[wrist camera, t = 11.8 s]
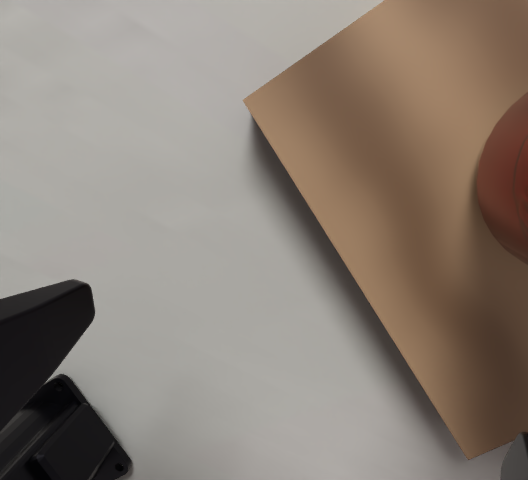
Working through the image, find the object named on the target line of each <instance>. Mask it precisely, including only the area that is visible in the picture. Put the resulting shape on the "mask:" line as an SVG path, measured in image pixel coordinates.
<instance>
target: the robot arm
mask: <svg viewBox="0 0 528 480" xmlns="http://www.w3.org/2000/svg"><path fill="white" fill-rule="evenodd" d="M94 316H95V307H94V301H93V295H92V290H91V287H90V285H89V284H87V283H84V282H81V281H78V280H74V279H72V280H68V281H64V282H60V283H57V284H53V285H50V286H46V287H42V288H39V289H35V290H32V291H28V292H24V293H21V294H17V295H14V296H10V297H6V298H3V299H0V480H115V479H117V478H119V477H121V476H123V475H125V474H126V473H127V472H128V470H129V468H130V466H131V460H130V458H129V457H128V456H127V454H126V453H125V452H124V450H123V449H122V448H121V446H120V445H119V444H118V442H117V441H116V440H115V438H114V437H113V436H112V434H111V433H110V432H109V430H108V429H107V428H106V426H105V425H104V424H103V422H102V421H101V420H100V418H99V417H98V416H97V414H96V413H95V411H94V410H93V409H92V407H91V406H90V405H89V403H88V402H87V401H86V399H85V398H84V397H83V395H82V394H81V393H80V391H79V390H78V389H77V387H76V386H75V385H74V383H73V382H72V381H71V379H70V378H69V377H68V376H66V375H64V374H59V375H57V376H55V377H54V378H52V379H50V380H49V381H47V380H48V379H49V378H50V376H51V375H52V374H53V373H54V371H55V370H56V369H57V368H58V366H59V365H60V364H61V362H62V361H63V360H64V359H65V357H66V356H67V355H68V353H69V352H70V351H71V349H72V348H73V347H74V345H75V344H76V343H77V341H78V340H79V339H80V337H81V336H82V335H83V333H84V332H85V331H86V329H87V328H88V327H89V325H90V324H91V323H92V321H93V319H94ZM46 381H47V382H46ZM58 382H59V383H61V384H62V385H63V387H62V386H60V385H59V383H58ZM119 463H120V464H122V465H123V466H121V465H119ZM500 480H528V432H520V433H519V434H518V435H517V437H516V439H515V440H514V442H513V444H512V446H511V448H510V450H509V451H508V453H507V455H506V457H505V459H504V461H503V464H502V468H501V479H500Z"/></svg>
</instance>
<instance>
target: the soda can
mask: <svg viewBox="0 0 528 480" xmlns="http://www.w3.org/2000/svg"><path fill="white" fill-rule="evenodd" d="M476 185H477V197H478V203H479V207H480V210H481V213H482V217H483V220H484V221H485V223H486V225H487V227H488V228H489V230H490V232H491V234H492V235H493V236H494V238H495V239H496V240H497V241H498V242H499V243H500V244H501V245H502V247H503V248H504V249H505V250H506V251H508V252H509V253H510V254H512V255H513V256H514V257H516V258H517V259H519V260H520V261H522V262H523V263H525V264H527V265H528V92H526V93H525V94H524V95H523V96H522V97H521V98H520V99H518V100H517V101H516V102H515V103H514V104H513V105H511V106H510V107H509V108H508V110H507V111H506V112H505V113H504V115H503V116H502V117H501V118H500V119H499V121H498V122H497V123H496V124H495V126H494V128H493V130H492V132H491V133H490V135H489V137H488V139H487V141H486V142H485V145H484V148H483V151H482V154H481V157H480V160H479V165H478V173H477V180H476Z"/></svg>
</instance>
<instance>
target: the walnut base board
mask: <svg viewBox="0 0 528 480" xmlns="http://www.w3.org/2000/svg"><path fill="white" fill-rule="evenodd" d="M526 92H528V0H385V1H383V2H382V3H380V4H379V5H377V6H376V7H375V8H373V9H372V10H370V11H369V12H367V13H366V14H365V15H363V16H362V17H360V18H359V19H357V20H356V21H355V22H353V23H352V24H350V25H349V26H348V27H346V28H345V29H343V30H342V31H340V32H339V33H338V34H336V35H335V36H333V37H332V38H330V39H329V40H328V41H326V42H325V43H323V44H322V45H320V46H319V47H318V48H316V49H315V50H313V51H312V52H311V53H309V54H308V55H306V56H305V57H303V58H302V59H301V60H299V61H298V62H296V63H295V64H293V65H292V66H291V67H289V68H288V69H286V70H285V71H283V72H282V73H281V74H279V75H278V76H276V77H275V78H273V79H272V80H271V81H269V82H268V83H266V84H265V85H264V86H262V87H261V88H259V89H258V90H256V91H255V92H254V93H252V94H251V95H249V96H248V97H246V98H245V99H244V100H243V102H244V103H245V105H246V106H247V108H248V110H249V111H250V113H251V114H252V116H253V117H254V119H255V121H256V122H257V124H258V125H259V127H260V129H261V130H262V132H263V133H264V135H265V137H266V138H267V140H268V141H269V143H270V145H271V146H272V148H273V149H274V151H275V153H276V154H277V156H278V157H279V159H280V161H281V162H282V164H283V165H284V167H285V169H286V170H287V172H288V173H289V175H290V177H291V178H292V180H293V181H294V183H295V185H296V186H297V188H298V189H299V191H300V193H301V194H302V196H303V197H304V199H305V201H306V202H307V204H308V205H309V207H310V209H311V210H312V212H313V213H314V215H315V216H316V218H317V220H318V221H319V223H320V224H321V226H322V228H323V229H324V231H325V232H326V234H327V236H328V237H329V239H330V240H331V242H332V244H333V245H334V247H335V248H336V250H337V252H338V253H339V255H340V256H341V258H342V260H343V261H344V263H345V264H346V266H347V268H348V269H349V271H350V272H351V274H352V276H353V277H354V279H355V280H356V282H357V284H358V285H359V287H360V288H361V290H362V292H363V293H364V295H365V296H366V298H367V300H368V301H369V303H370V304H371V306H372V308H373V309H374V311H375V312H376V314H377V315H378V317H379V319H380V320H381V322H382V323H383V325H384V327H385V328H386V330H387V331H388V333H389V335H390V336H391V338H392V339H393V341H394V343H395V344H396V346H397V347H398V349H399V351H400V352H401V354H402V355H403V357H404V359H405V360H406V362H407V363H408V365H409V367H410V368H411V370H412V371H413V373H414V375H415V376H416V378H417V379H418V381H419V383H420V384H421V386H422V387H423V389H424V391H425V392H426V394H427V395H428V397H429V399H430V400H431V402H432V403H433V405H434V407H435V408H436V410H437V411H438V413H439V414H440V416H441V418H442V419H443V421H444V422H445V424H446V426H447V427H448V429H449V430H450V432H451V434H452V435H453V437H454V438H455V440H456V442H457V443H458V445H459V446H460V448H461V450H462V451H463V453H464V454H465V456H466V458H467V459H468V460H470V459H472V458H474V457H476V456H479V455H481V454H483V453H486V452H488V451H490V450H493V449H495V448H497V447H500V446H502V445H504V444H506V443H509V442H511V441H513V440H515V439H516V437H517V435H518V434H519V433H520V432H528V265H527V264H525V263H523V262H522V261H520V260H519V259H517V258H516V257H514V256H513V255H512V254H510V253H509V252H508V251H506V250H505V249H504V248H503V247H502V245H501V244H500V243H499V242H498V241H497V240H496V239H495V238H494V236H493V235H492V234H491V232H490V230H489V228H488V227H487V225H486V223H485V221H484V220H483V217H482V213H481V210H480V207H479V203H478V197H477V185H476V180H477V173H478V165H479V160H480V157H481V154H482V151H483V148H484V145H485V142H486V141H487V139H488V137H489V135H490V133H491V132H492V130H493V128H494V126H495V124H496V123H497V122H498V121H499V119H500V118H501V117H502V116H503V115H504V113H505V112H506V111H507V110H508V108H509V107H510V106H511V105H513V104H514V103H515V102H516V101H517V100H518V99H520V98H521V97H522V96H523V95H524V94H525V93H526Z"/></svg>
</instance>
